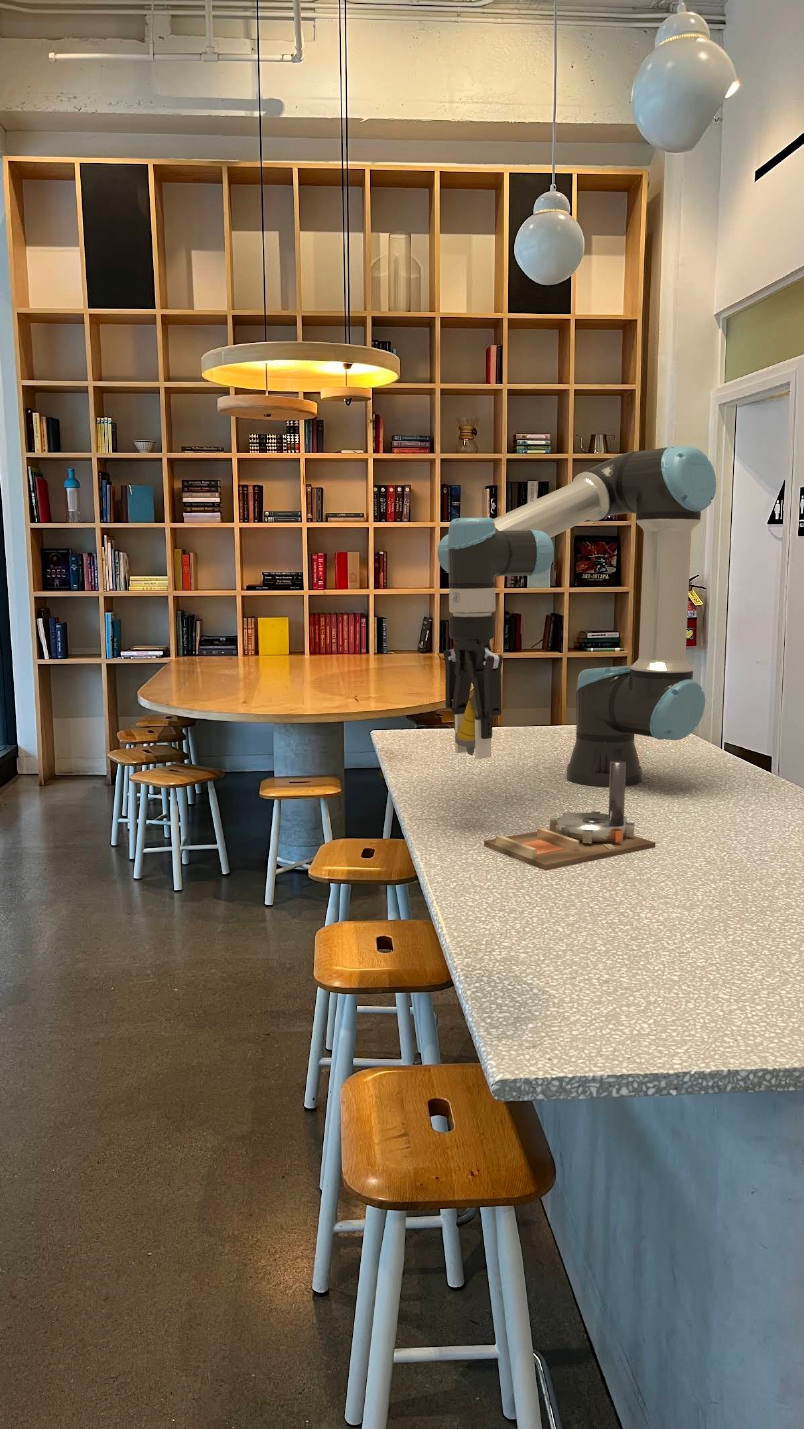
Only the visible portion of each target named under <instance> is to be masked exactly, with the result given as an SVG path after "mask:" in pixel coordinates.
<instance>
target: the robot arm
mask: <svg viewBox="0 0 804 1429" xmlns="http://www.w3.org/2000/svg"><path fill="white" fill-rule="evenodd" d="M716 491H717V479H716V474H715V469H714V466H713V464H712V462H711V461H710V460H709V459H708V456H707V455H706V453H704V451H702V450H700V449H699V448H697V447H694V446H688V445H687V446H686V445H685V446H683V445H682V446H677V445H674V446H668V447H661V448H660V447H659V448H655V449H654V448H653V449H646V450H637V451H636V450H635V451H629V452H626V453H622V454H619V455H616V456H614V457H612V458H610V459H608V460H605V461H604V462H601V463H599V464H596V465H595V466H592V467H591V468H589V469H587V470H585V471H583V472H581V473H579V474H577V475H576V476H575V477H574V478H573V480H572V482H571V483H569V484H567V485H565V486H563V487H561V488H559V489H557V490H554V491H551V492H549V493H548V494H545V495H543V496H541V497H539V498H537V499H534V500H532V501H529V502H527V503H526V504H524V505H521V506H519V507H517V508H515V509H513V510H510V511H507V512H506V513H504V514H502V515H500V516H497V517H495V518H492V517H459V518H458V517H457V518H453V519H452V520H451V521H450V522H449V525H448V532H447V533H448V534H446V535H444V536H443V537H442V538H441V540H440V542H439V544H438V547H437V559H438V562H439V565H440V567H441V568H442V569H443V570H444V571H445V572H446V573H447V574H448V588H449V589H448V611H449V613H451V614H452V615H450V617H449V618H448V636H449V638H450V639H452V640H454V645H453V648H451V649H445V650H443V659H444V663H445V668H444V669H445V672H444V673H445V680H444V681H445V683H444V684H445V689H444V690H445V692H444V694H445V696H444V697H445V698H444V699H445V704H444V706H445V707H446V709H450V710H451V712H452V714H453V729H454V735H455V734H456V733H457V732H458V731H459V728H460V725H461V722H462V719H463V716H464V713H465V710H466V707H467V704H468V701H469V700H470V695H471V689H472V688H471V687H472V683H473V691H474V692H473V693H474V698H475V699H474V700H475V703H476V711H477V716H476V717H475V749H474V759H476V760H480V759H488V758H492V738H493V720H494V718H495V717H498V716H501V715H502V666H503V663H504V662H503V661H504V657H503V655H502V654H496V653H494V652H493V650H492V647H491V643H490V641H491V640H492V639H494V638H495V637H496V617H495V615H492V613H494V612H496V577H515V576H516V577H518V576H519V577H520V576H525V577H527V576H528V577H532V576H535V575H537V576H538V575H542V574H544V573H546V572H547V571H548V570H549V569H550V567H551V565H552V564H553V562H554V557H555V554H554V553H555V551H554V550H555V547H554V543H553V540H552V538H553V537H556V536H557V535H559V534H561V533H563V532H566V531H568V530H569V529H571V528H575V527H576V526H578V525H579V524H582V523H584V522H586V521H590V522H597V521H600V520H602V519H605V518H608V517H611V516H615V515H616V516H617V515H618V516H619V515H626V514H635V516H636V517H635V521H636V523H637V525H638V526H639V527H640V528H641V529H642V531H643V544H642V545H643V549H642V573H641V574H642V575H641V597H640V618H639V619H640V621H639V623H640V624H639V641H638V642H639V644H638V645H639V646H638V647H639V648H638V650H639V651H638V658H637V660H636V661H635V662H634V663H632V665H623V666H610V667H596V668H586V669H583V670H581V671H580V672H579V674H578V676H577V684H576V685H577V686H576V690H575V691H576V699H575V700H576V706H575V707H576V708H575V709H576V710H575V711H576V713H575V715H576V722H575V723H576V725H575V726H576V729H575V734H576V735H575V743H574V746H573V750H572V753H571V756H570V759H569V760H570V761H569V763H568V764H567V766H566V779H567V780H568V781H570V782H571V783H575V784H579V785H585V786H591V787H592V786H594V787H604V788H605V787H609V784H610V762H611V761H624V762H626V772H625V787H628V786H633V785H637V784H640V783H642V781H643V768H642V766H641V765H640V760H639V756H638V752H637V748H636V745H635V735H637V736H644V737H649V738H653V739H657V740H660V741H662V740H667V741H669V740H670V741H678V740H684V739H685V738H687V737H688V736H690V735H691V734H692V733H693V732H694V730H695V728H697V727H699V724H700V722H701V720H702V718H703V716H704V712H705V706H706V696H705V692H704V691H703V688H702V686H701V685H700V683H698V682H697V681H696V680H693V679H694V678H693V676H694V668H693V667H692V666H691V664H689V663H688V662H687V660H686V656H687V655H686V654H687V652H686V649H687V632H688V610H689V591H690V590H689V589H690V588H689V586H690V568H691V567H690V564H691V550H692V549H691V548H692V547H691V546H692V532H693V530H694V528H696V527H697V526H698V525H699V524H700V523H701V516H702V511H704V510H705V509H707V508H708V507H709V506H710V505H711V504H712V500H714V498H715V495H716ZM454 753H456V754H462V753H464V754H465V753H467V750H466V747H465V746H460V745H458V744H457V743H456V742H455V741H454Z"/></svg>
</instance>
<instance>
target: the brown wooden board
mask: <svg viewBox="0 0 804 1429" xmlns="http://www.w3.org/2000/svg"><path fill="white" fill-rule="evenodd" d="M536 830H537V831H530V832H525V833H520V834H515V835H509V836H508V835H507V836H504V835H501V834H498V835H495V838H491V839H487V840H485V839H484V840H483V846H484V848H488V849H490V850H493V851H495V852H498V853H500V854H501V855H502V854H503V855H506V856H507V857H510V858H513V859H515V860H518V861H520V862H523V863H524V864H528V865H530V866H533V867H535V868H538V869H541V870H543V871H550V870H553V869H558V868H563V867H568V866H574V865H578V864H583V863H587V862H592V861H596V860H601V859H602V860H603V859H606V858H611V857H615V856H620V855H625V854H629V853H630V854H631V853H635V852H639V851H644V850H649V849H654V848H656V841H655V842H654V841H652V840H648V839H645V838H642V837H639V836H636V835H634V836H625V837H624V838H623V841H622V842H616V843H615V842H612V841H602V842H594V841H593V842H592V843H583V841H581V840H575V839H572V838H569V837H567V836H564V835H561V834H558V833H556V831H553V830H550V828H549V829H546V828H543V827H537V829H536Z"/></svg>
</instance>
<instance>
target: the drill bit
mask: <svg viewBox="0 0 804 1429" xmlns="http://www.w3.org/2000/svg"><path fill="white" fill-rule="evenodd" d="M476 716H478V714H477V713H476V710H475V709H474V707H473V704H472V702H471V700H470V699H469V701H468V704H467V707H466V710H465V713H464V716H463V719H462V722H461V725H460V728H459V731H458V732H457V733H456V734H455V733H454V743H455V742H456V743H457V744H458V745H460V746H465V747H466V750H467V752H466V753H467V754H468V755H469V756H474V754H475V717H476Z"/></svg>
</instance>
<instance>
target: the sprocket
mask: <svg viewBox="0 0 804 1429" xmlns="http://www.w3.org/2000/svg"><path fill="white" fill-rule="evenodd" d="M625 772H626V762H624V761H611V762H610V784H609V789H608V790H609V794H608V813H601V811H594V810H593V811H591V812H577V813H576V812H572V811H566V812H563V813H562V815H560V816H558V817H554V816H553V817H550V819H549V829H550V830H553V831H556V833H558V834H561V835H564V836H567V837H569V838H572V839H575V840H581V841H583V843H592V842H593V841H594V842H602V841H612V842H615V843H616V842H622V841H623V838H624V837H625V836H635V822H628V817H627V816H625V805H626V804H625V798H626V786H625Z"/></svg>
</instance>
